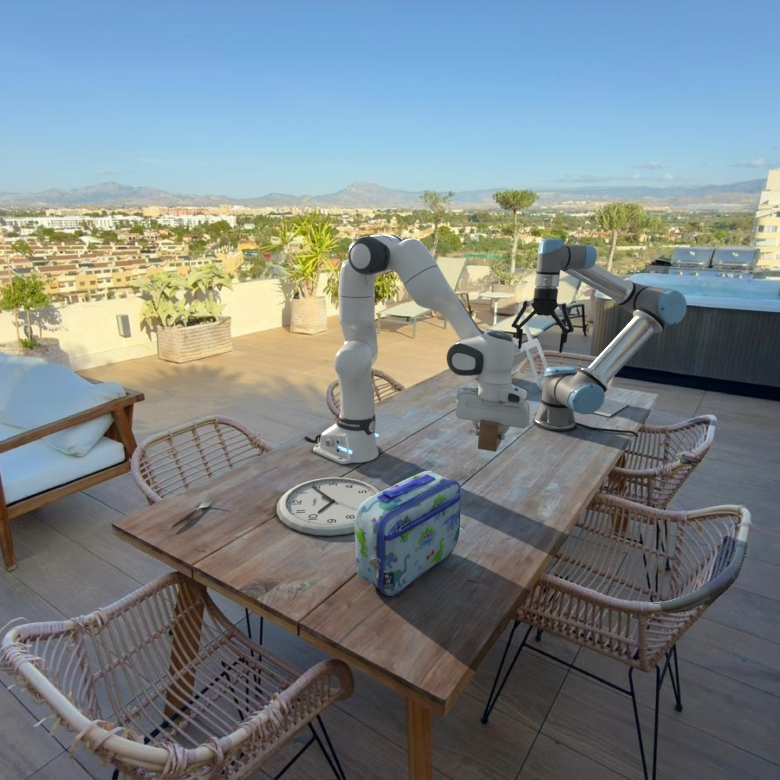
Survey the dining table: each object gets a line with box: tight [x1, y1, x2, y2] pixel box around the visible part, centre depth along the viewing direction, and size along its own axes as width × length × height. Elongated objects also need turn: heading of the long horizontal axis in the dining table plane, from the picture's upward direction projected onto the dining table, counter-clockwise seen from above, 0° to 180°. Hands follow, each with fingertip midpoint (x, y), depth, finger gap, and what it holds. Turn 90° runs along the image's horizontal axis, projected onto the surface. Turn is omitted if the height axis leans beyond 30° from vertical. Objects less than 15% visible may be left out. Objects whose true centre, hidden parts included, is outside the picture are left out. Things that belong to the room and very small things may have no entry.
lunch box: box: [354, 470, 461, 597], centre depth 113 cm, size 26×11×21 cm, turn 134°
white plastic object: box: [471, 306, 549, 391], centre depth 258 cm, size 37×45×31 cm
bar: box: [477, 420, 505, 453], centre depth 157 cm, size 28×5×8 cm, turn 158°
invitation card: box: [593, 398, 629, 418], centre depth 226 cm, size 21×1×15 cm
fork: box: [171, 493, 217, 529], centre depth 137 cm, size 3×16×2 cm, turn 160°
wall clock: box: [276, 476, 382, 537], centre depth 142 cm, size 30×2×30 cm
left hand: (490, 437), depth 148 cm, fingers closed on bar, 5 cm apart
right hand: (539, 350), depth 179 cm, fingers open, 13 cm apart
